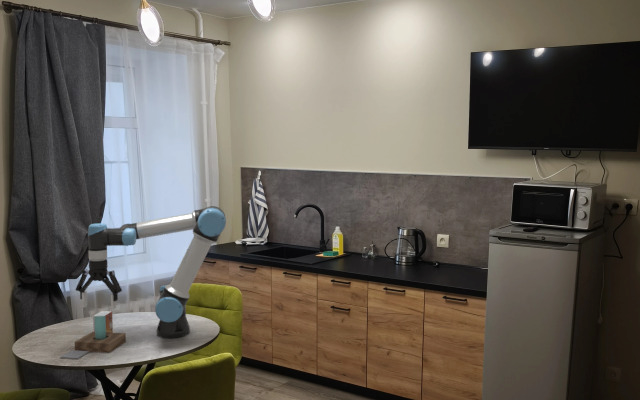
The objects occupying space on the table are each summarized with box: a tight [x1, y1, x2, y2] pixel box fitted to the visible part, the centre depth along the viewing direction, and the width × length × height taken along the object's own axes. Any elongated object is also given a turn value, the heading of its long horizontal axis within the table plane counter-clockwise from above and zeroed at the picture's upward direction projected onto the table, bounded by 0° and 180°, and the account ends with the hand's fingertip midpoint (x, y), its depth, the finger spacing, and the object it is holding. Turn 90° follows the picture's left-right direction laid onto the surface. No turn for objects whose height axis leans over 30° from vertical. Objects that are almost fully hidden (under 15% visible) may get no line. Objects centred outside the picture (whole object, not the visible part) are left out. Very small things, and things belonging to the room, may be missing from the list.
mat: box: [59, 349, 90, 360], centre depth 235 cm, size 8×8×1 cm
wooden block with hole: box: [74, 331, 127, 354], centre depth 245 cm, size 16×14×4 cm
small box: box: [92, 310, 114, 333], centre depth 260 cm, size 8×6×10 cm
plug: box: [95, 316, 106, 340], centre depth 245 cm, size 4×4×13 cm
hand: (99, 307), depth 244 cm, fingers open, 13 cm apart
